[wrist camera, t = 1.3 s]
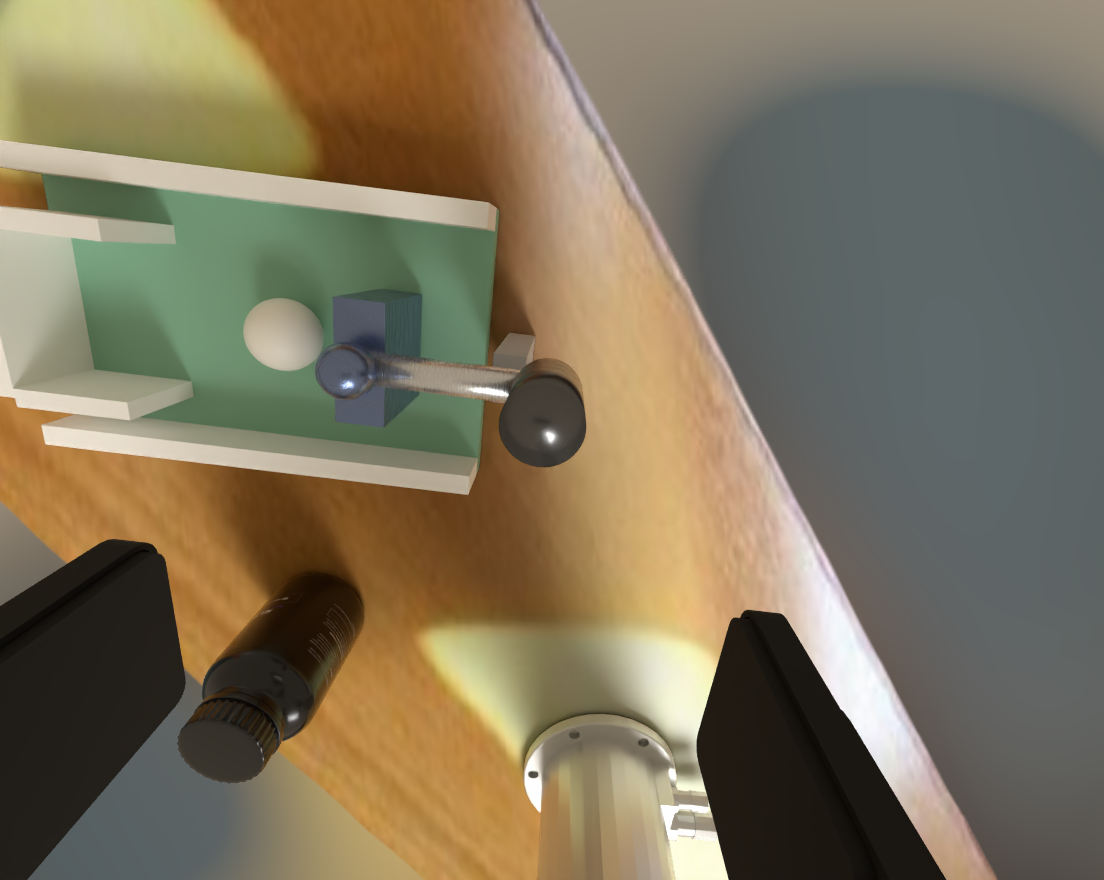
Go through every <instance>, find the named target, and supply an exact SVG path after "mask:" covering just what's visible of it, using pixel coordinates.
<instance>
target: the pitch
mask: <svg viewBox="0 0 1104 880" xmlns="http://www.w3.org/2000/svg"><path fill="white" fill-rule="evenodd" d="M0 167H1V168H8V169H14V170H20V171H26V172H33V173H39V174H42V178H43V183H44V189H45V194H46V199H47V205H48V210H41V209H31V208H20V207H9V206H0V396H4V397H12V398H15V400H16V404H17V407H23V408H31V409H39V410H48V411H56V412H64V413H72V414H75V415H71V416H68V417H65V418H62V419H59V420H56V421H53V422H49V423H46V424H43V425H41V426H42V430H43V435H44V439H45V444H47V445H55V446H64V447H72V448H80V449H89V450H97V451H105V452H114V453H122V454H131V455H139V456H147V457H156V458H164V459H172V460H181V461H189V462H197V463H206V464H214V465H222V466H231V467H239V468H247V469H256V470H264V471H272V472H281V473H289V474H298V475H306V476H314V477H323V478H331V479H339V480H348V481H356V482H364V483H373V484H381V485H389V486H398V487H406V488H414V489H423V490H431V491H439V492H448V493H456V494H465V495H468V494H469V491H470V489H471V487H472V484H473V482H474V479H475V477H476V475H477V472H478V470H479V466H480V453H481V440H482V427H483V414H484V401H485V400H480V399H471V398H463V397H455V396H447V395H439V394H431V393H422V392H419V396H418V397H417V398H415V399H414V400H413V401H412V402H411V403H410V404H409V405H408V406H407V407H406V408H405V409H404V410H403V411H401V412H400V413H399V414H398V415H397V416H396V417H395V418H394V419H393V420H392V421H391V422H390V423H388V424H387V425H386V426H385V427H384V428H382V427H374V426H366V425H358V424H350V423H341V422H335V398H334V397H331V396H330V395H328V394H327V393H326V392H324V391H323V390H322V388H321V387H320V386H319V384H318V382H317V380H316V377H315V363H316V360H317V358H318V357H317V358H316V359H315V360H314V361H313V362H312V363H311V364H309V365H308V366H306V367H304V368H301V369H298V370H294V371H281V370H276V369H272V368H270V367H268V366H266V365H264V364H262V363H261V362H259V361H258V360H257V359H256V358H255V357H254V356H253V355H252V354H251V353H250V351H249V350H248V348H247V346H246V343H245V340H244V335H243V327H244V322H245V319H246V317H247V315H248V314H249V312H250V311H251V310H252V309H253V308H254V307H255V306H256V305H258V304H259V303H261V302H263V301H265V300H269V299H273V298H287V299H292V300H295V301H298V302H300V303H302V304H303V305H305V306H307V307H308V308H309V309H310V310H311V311H312V312H313V313H314V314H315V315H316V316H317V318H318V319H319V321H320V323H321V326H322V328H323V333H324V342H323V347H322V350H321V352H322V351H323V350H324V349H325V348H326V347H328V346H329V345H331V344H334V337H333V296H339V295H345V294H351V293H357V292H363V291H369V290H375V289H387V290H395V291H403V292H411V293H419V294H422V322H421V351H420V357H421V358H429V359H437V360H445V361H453V362H461V363H469V364H478V365H486V366H487V363H488V350H489V337H490V324H491V312H492V299H493V286H494V273H495V260H496V247H497V235H498V222H499V209H497V208H496V207H495V206H493V205H492V204H490V203H489V202H482V201H474V200H466V199H458V198H450V197H442V196H435V195H427V194H419V193H411V192H403V191H395V190H388V189H380V188H372V187H364V186H356V185H348V184H341V183H333V182H325V181H317V180H309V179H301V178H293V177H286V176H278V175H270V174H262V173H254V172H246V171H239V170H231V169H223V168H215V167H207V166H199V165H192V164H184V163H176V162H168V161H160V160H152V159H145V158H137V157H129V156H121V155H113V154H105V153H97V152H90V151H82V150H74V149H66V148H58V147H50V146H43V145H35V144H27V143H19V142H11V141H3V140H0ZM534 344H535V336H533V335H525V334H517V333H509V334H508V335H507V336H506V338H505V339H504V340H503V342H502V343H501V344H500V346H499V347H498V348H497V349H496V351H495V352H494V354H493V366H494V367H502V368H510V369H518V370H521V369H522V368H523V367H525V366H526V365H527V364H529V363H531V362H533V354H534ZM321 352H320V353H321ZM318 356H319V355H318ZM492 402H496V401H492ZM500 403H504V402H500Z"/></svg>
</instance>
